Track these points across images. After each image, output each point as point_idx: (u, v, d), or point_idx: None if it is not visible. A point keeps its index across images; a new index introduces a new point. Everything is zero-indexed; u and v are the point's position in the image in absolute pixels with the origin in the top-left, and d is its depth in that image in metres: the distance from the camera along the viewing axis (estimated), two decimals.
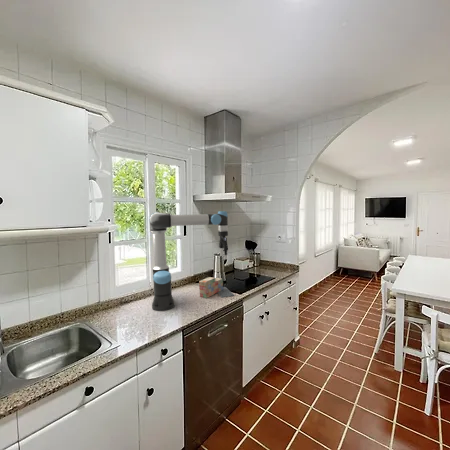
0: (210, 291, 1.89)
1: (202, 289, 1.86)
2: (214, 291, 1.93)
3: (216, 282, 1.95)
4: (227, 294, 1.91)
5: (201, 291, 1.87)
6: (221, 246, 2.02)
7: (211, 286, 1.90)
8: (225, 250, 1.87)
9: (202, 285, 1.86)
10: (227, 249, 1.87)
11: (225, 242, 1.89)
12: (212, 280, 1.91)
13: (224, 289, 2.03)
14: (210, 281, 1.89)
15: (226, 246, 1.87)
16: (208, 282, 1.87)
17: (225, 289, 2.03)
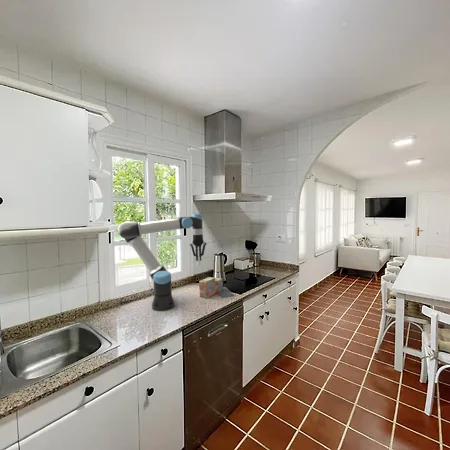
0: (210, 291, 1.89)
1: (202, 289, 1.86)
2: (214, 291, 1.93)
3: (216, 282, 1.95)
4: (227, 294, 1.91)
5: (201, 291, 1.87)
6: (199, 253, 1.90)
7: (211, 286, 1.90)
8: None
9: (202, 285, 1.86)
10: (194, 255, 1.88)
11: None
12: (212, 280, 1.91)
13: (224, 289, 2.03)
14: (210, 281, 1.89)
15: (193, 252, 1.88)
16: (208, 282, 1.87)
17: (225, 289, 2.03)
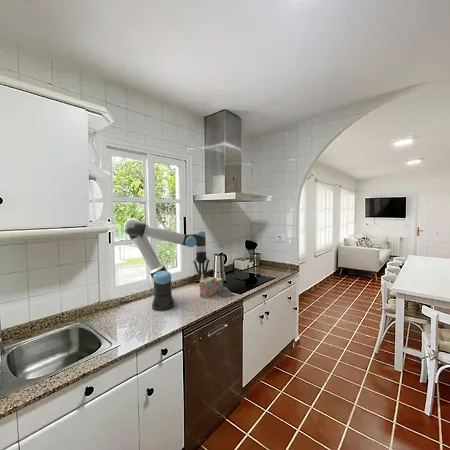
0: (210, 291, 1.88)
1: (202, 289, 1.86)
2: (214, 291, 1.93)
3: (217, 282, 1.95)
4: (227, 294, 1.91)
5: (201, 291, 1.87)
6: (202, 270, 1.92)
7: (212, 286, 1.90)
8: None
9: (202, 286, 1.85)
10: (197, 272, 1.90)
11: (195, 265, 1.90)
12: (212, 280, 1.91)
13: (224, 289, 2.03)
14: (210, 281, 1.89)
15: (196, 269, 1.90)
16: (208, 282, 1.87)
17: (225, 289, 2.03)
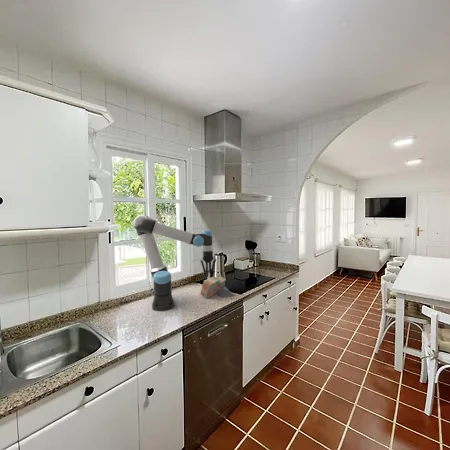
0: (211, 292, 1.88)
1: (205, 289, 1.84)
2: (215, 291, 1.92)
3: (220, 283, 1.93)
4: (227, 294, 1.91)
5: (203, 290, 1.85)
6: (209, 269, 1.93)
7: (214, 287, 1.88)
8: (205, 271, 1.93)
9: (206, 286, 1.83)
10: (204, 271, 1.91)
11: (202, 264, 1.91)
12: (216, 282, 1.88)
13: (224, 289, 2.03)
14: (214, 283, 1.86)
15: (203, 268, 1.91)
16: (212, 284, 1.84)
17: (225, 289, 2.03)
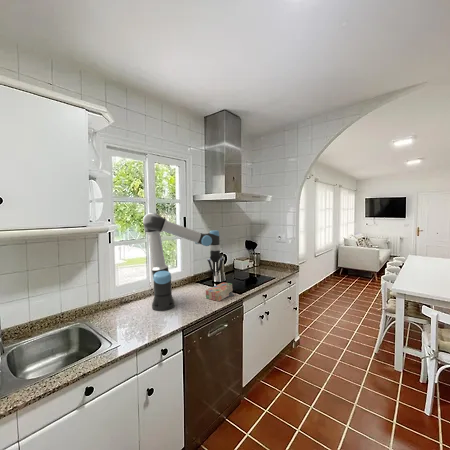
0: None
1: (212, 295, 1.81)
2: None
3: None
4: None
5: (210, 294, 1.82)
6: (216, 268, 1.95)
7: None
8: (212, 270, 1.95)
9: (215, 296, 1.79)
10: None
11: (209, 264, 1.93)
12: None
13: None
14: None
15: (210, 268, 1.93)
16: None
17: None
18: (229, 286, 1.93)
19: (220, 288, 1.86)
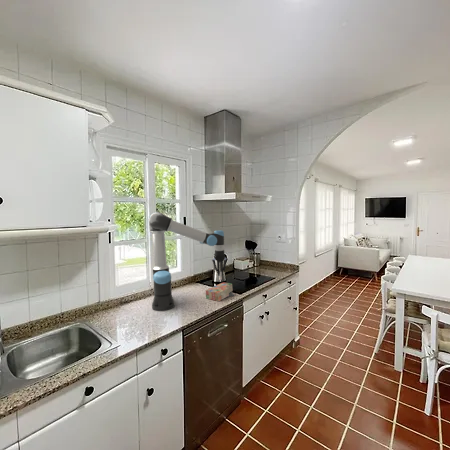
0: None
1: (212, 295, 1.81)
2: None
3: None
4: None
5: (210, 294, 1.82)
6: None
7: None
8: (216, 270, 1.96)
9: (215, 296, 1.79)
10: (216, 270, 1.94)
11: None
12: None
13: None
14: None
15: (215, 267, 1.94)
16: None
17: None
18: (229, 286, 1.93)
19: (220, 288, 1.86)
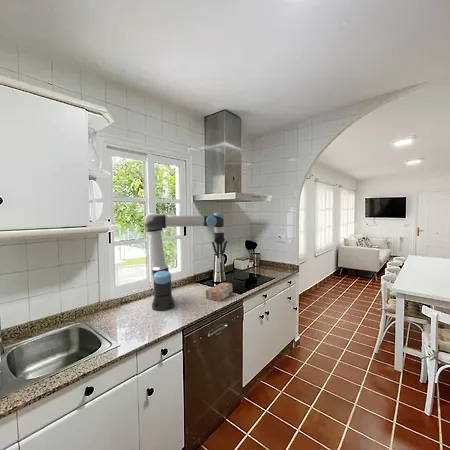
0: None
1: (212, 295, 1.81)
2: None
3: None
4: None
5: (210, 294, 1.82)
6: (220, 251, 1.96)
7: None
8: (216, 253, 1.95)
9: (215, 296, 1.79)
10: None
11: (213, 246, 1.94)
12: None
13: None
14: None
15: (214, 250, 1.94)
16: None
17: None
18: (229, 286, 1.93)
19: (220, 288, 1.86)
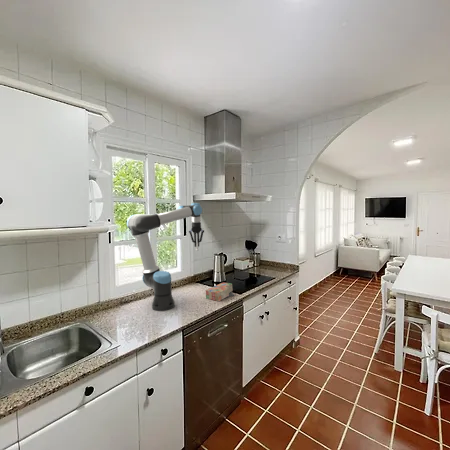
0: None
1: (212, 295, 1.81)
2: None
3: None
4: None
5: (210, 294, 1.82)
6: (197, 239, 2.05)
7: None
8: (193, 241, 2.04)
9: (215, 296, 1.79)
10: (192, 241, 2.03)
11: (190, 235, 2.03)
12: None
13: None
14: None
15: None
16: None
17: None
18: (229, 286, 1.93)
19: (220, 288, 1.86)
